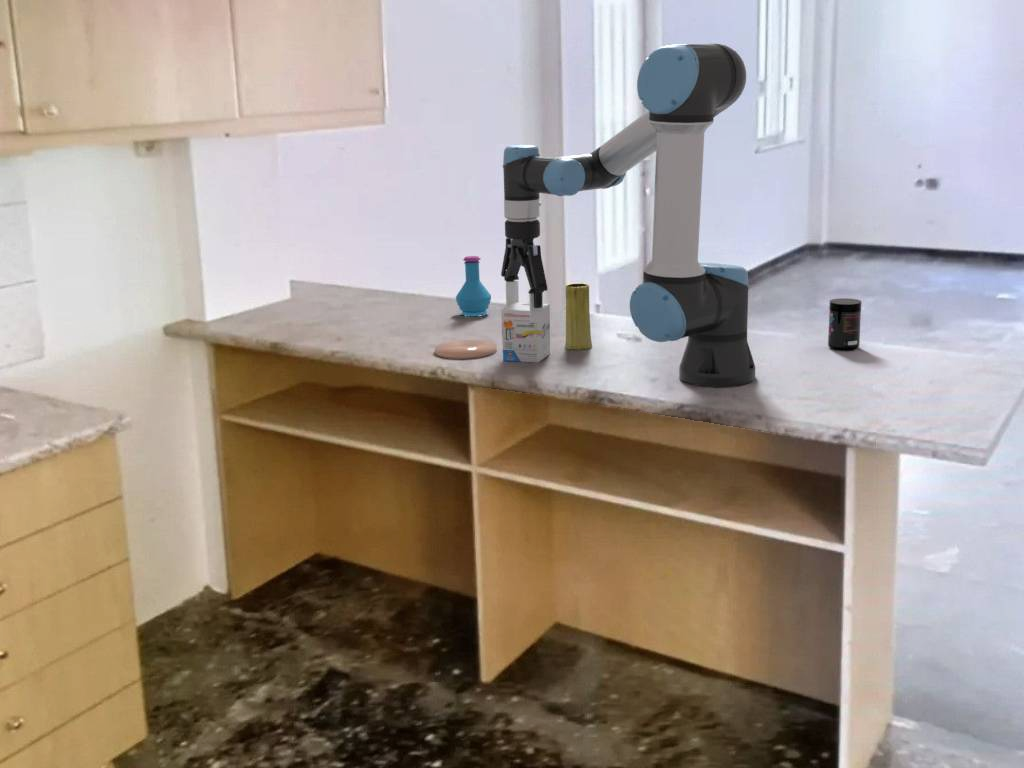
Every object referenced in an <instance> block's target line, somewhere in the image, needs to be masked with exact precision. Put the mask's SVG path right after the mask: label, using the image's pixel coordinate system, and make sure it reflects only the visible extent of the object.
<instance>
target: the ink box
mask: <svg viewBox="0 0 1024 768" xmlns="http://www.w3.org/2000/svg"><path fill="white" fill-rule="evenodd" d="M550 306H551V305H550V303H543V322H538V323H530V302H526V301H525V302H524V301H519V302H514V303H512V304H510V305H508V306H507V307H506V306H505V307H504V308H502V309H501V314H500V315H501V337H502V338H501V339H502V340H501V341H502V342H501V343H502V361H505V362H522V363H540V362H542V360H544V359H545V358H547V357H548V356H549V355H550V354H551V325H550V324H551V323H550V322H551V320H550V318H551V312H550V311H551V309H550V308H551V307H550Z"/></svg>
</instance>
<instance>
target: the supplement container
mask: <svg viewBox="0 0 1024 768" xmlns="http://www.w3.org/2000/svg"><path fill="white" fill-rule="evenodd" d="M862 302H863V301H862V300H860V299H856V298H833V299H830V300H829V305H828V306H829V307H828V312H829V315H828V334H827V335H828V336H827V337H828V338H827V345H828V347H829V349H830V350H834V351H839V352H840V351H841V352H850V351H851V352H852V351H856V350H858V348H859V347H860V341H861V340H860V339H861V321H862V320H861V319H862V316H861V315H862Z"/></svg>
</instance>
